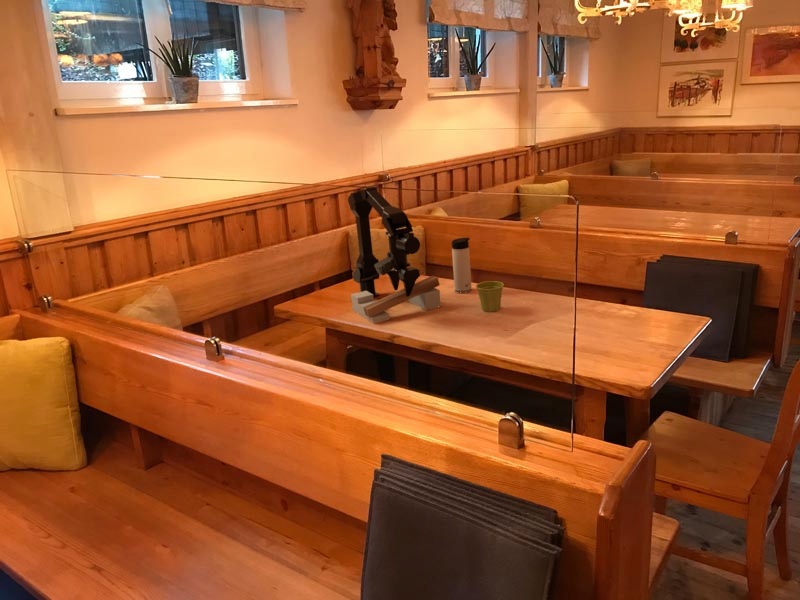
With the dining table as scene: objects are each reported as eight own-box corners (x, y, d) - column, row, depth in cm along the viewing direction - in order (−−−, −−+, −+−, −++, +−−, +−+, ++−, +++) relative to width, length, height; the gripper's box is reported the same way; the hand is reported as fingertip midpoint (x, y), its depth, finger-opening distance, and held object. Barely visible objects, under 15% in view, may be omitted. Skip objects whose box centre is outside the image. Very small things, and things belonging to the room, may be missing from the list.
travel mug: (471, 293, 248) (468, 240, 242) (453, 293, 249) (450, 240, 243) (473, 288, 254) (470, 236, 248) (455, 288, 255) (452, 236, 249)
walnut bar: (365, 315, 230) (363, 307, 228) (434, 283, 239) (432, 275, 238) (369, 317, 227) (367, 309, 225) (439, 285, 236) (437, 277, 235)
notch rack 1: (352, 310, 242) (350, 294, 240) (368, 306, 244) (366, 290, 242) (373, 323, 226) (371, 306, 224) (389, 319, 229) (387, 302, 227)
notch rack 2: (402, 298, 250) (401, 282, 248) (416, 294, 252) (415, 279, 250) (425, 310, 234) (424, 293, 232) (440, 306, 237) (439, 290, 235)
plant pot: (471, 311, 229) (469, 286, 226) (487, 303, 236) (486, 279, 233) (494, 315, 223) (492, 290, 220) (510, 307, 229) (509, 283, 227)
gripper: (364, 248, 232) (369, 291, 237) (388, 258, 216) (392, 304, 221) (393, 242, 237) (397, 285, 241) (419, 252, 220) (422, 297, 225)
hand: (401, 293), depth 232 cm, fingers open, 9 cm apart
